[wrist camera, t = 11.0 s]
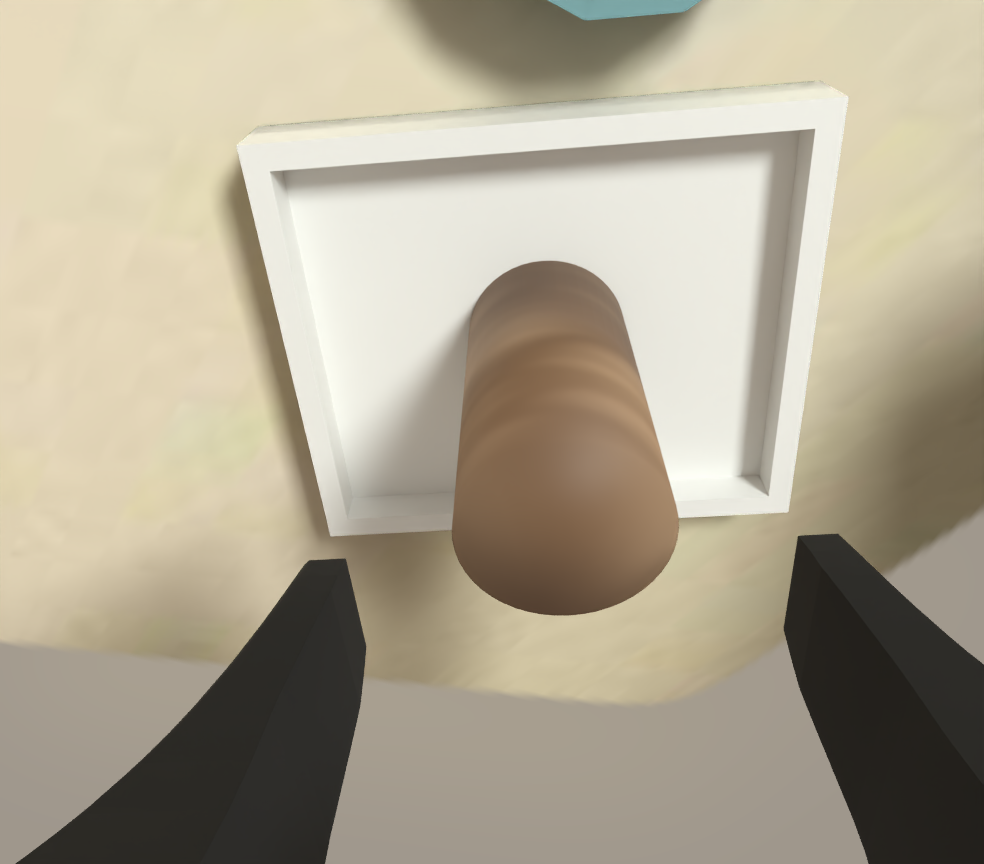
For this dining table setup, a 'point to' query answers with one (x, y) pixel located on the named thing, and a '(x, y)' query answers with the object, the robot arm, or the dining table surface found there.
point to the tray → (550, 237)
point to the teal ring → (622, 7)
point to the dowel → (558, 449)
